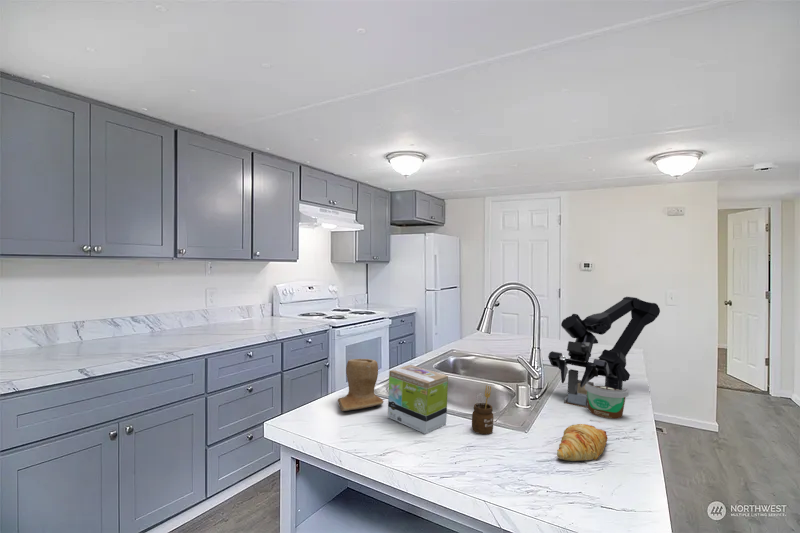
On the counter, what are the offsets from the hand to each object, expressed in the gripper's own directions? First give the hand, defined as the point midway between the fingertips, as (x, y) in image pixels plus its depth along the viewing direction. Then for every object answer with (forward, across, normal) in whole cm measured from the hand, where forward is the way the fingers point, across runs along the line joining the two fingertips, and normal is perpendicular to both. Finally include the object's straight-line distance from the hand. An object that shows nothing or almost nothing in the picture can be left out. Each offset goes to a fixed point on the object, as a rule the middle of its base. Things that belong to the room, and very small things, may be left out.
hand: (571, 384), depth 134 cm
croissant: (+26, +12, -15) cm, 33 cm away
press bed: (0, +1, +11) cm, 11 cm away
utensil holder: (+32, -12, -20) cm, 40 cm away
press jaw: (+3, +1, +5) cm, 6 cm away
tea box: (+38, -30, -26) cm, 54 cm away
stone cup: (+40, -51, -29) cm, 71 cm away
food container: (+7, +11, +4) cm, 14 cm away
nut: (-3, 0, +12) cm, 12 cm away
